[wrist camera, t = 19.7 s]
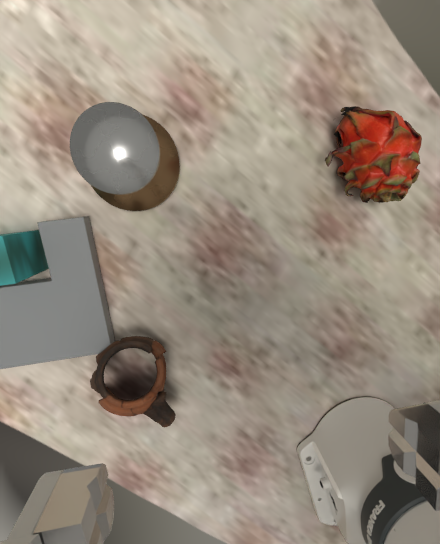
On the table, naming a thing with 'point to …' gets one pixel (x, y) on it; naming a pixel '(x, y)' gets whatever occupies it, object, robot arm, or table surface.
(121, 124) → the bobbin post
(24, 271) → the block
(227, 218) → the table surface
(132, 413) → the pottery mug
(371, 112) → the dragon fruit
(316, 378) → the table surface
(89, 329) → the notched board
